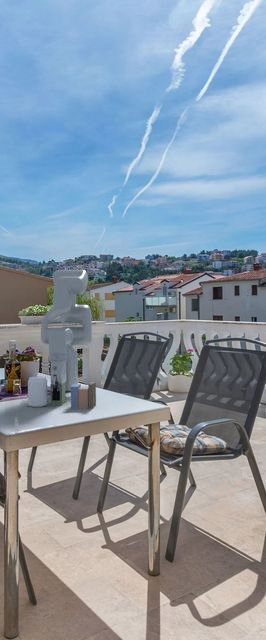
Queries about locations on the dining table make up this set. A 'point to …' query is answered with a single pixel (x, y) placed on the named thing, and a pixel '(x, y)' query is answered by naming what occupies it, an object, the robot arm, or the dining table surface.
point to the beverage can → (37, 391)
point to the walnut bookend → (92, 394)
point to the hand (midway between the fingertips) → (58, 398)
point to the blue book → (74, 395)
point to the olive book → (62, 395)
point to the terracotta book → (83, 397)
